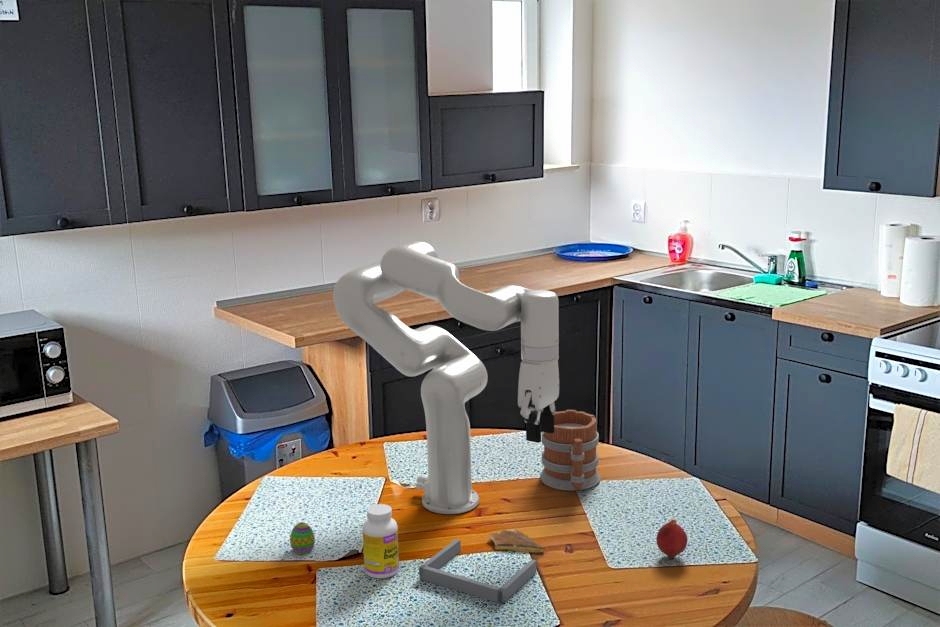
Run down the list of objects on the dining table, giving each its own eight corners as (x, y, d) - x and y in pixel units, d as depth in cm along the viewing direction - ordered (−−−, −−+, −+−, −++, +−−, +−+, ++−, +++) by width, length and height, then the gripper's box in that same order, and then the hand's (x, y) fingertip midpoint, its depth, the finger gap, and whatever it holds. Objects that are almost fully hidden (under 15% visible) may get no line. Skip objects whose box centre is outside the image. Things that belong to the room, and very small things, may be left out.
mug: (594, 466, 231) (594, 407, 227) (610, 500, 212) (610, 436, 208) (536, 468, 230) (535, 409, 226) (547, 503, 211) (546, 439, 208)
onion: (668, 567, 182) (669, 528, 181) (649, 554, 187) (650, 516, 186) (692, 559, 185) (694, 521, 183) (673, 547, 190) (674, 510, 188)
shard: (545, 555, 189) (545, 547, 189) (513, 566, 185) (513, 557, 185) (515, 534, 198) (515, 526, 198) (483, 543, 195) (483, 535, 194)
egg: (306, 542, 196) (304, 515, 195) (320, 550, 193) (318, 522, 191) (285, 550, 193) (283, 523, 191) (300, 558, 189) (298, 530, 188)
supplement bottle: (385, 583, 179) (382, 520, 176) (357, 574, 183) (354, 512, 180) (406, 567, 185) (403, 506, 182) (378, 559, 188) (375, 499, 185)
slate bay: (419, 579, 180) (419, 567, 180) (456, 550, 191) (456, 538, 190) (502, 604, 171) (502, 591, 170) (536, 572, 182) (536, 560, 181)
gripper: (542, 339, 202) (543, 421, 206) (502, 360, 188) (504, 447, 192) (575, 343, 198) (575, 426, 203) (536, 365, 184) (537, 453, 188)
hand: (540, 435), depth 197 cm, fingers open, 5 cm apart
